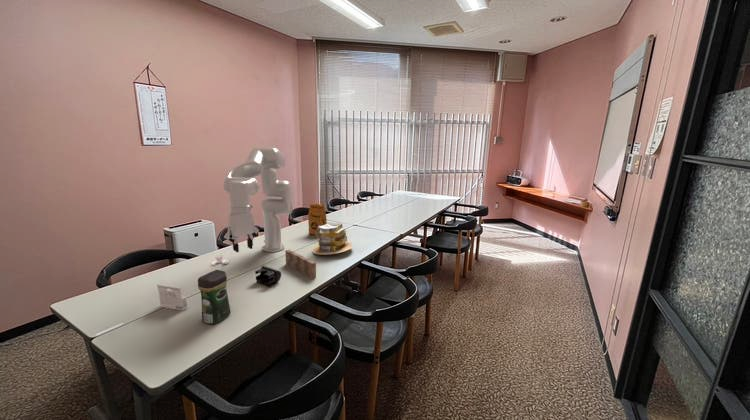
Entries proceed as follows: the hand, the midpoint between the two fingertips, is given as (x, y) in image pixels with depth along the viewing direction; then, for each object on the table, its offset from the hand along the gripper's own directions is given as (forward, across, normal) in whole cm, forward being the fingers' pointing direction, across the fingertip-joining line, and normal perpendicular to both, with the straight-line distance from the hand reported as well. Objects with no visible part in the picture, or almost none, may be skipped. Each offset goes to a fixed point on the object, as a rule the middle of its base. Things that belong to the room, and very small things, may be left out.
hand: (243, 249), depth 136 cm
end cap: (+20, -11, 0) cm, 23 cm away
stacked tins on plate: (+20, -60, -10) cm, 64 cm away
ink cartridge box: (+20, +27, -6) cm, 34 cm away
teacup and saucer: (+20, -2, -35) cm, 40 cm away
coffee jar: (+20, +18, +13) cm, 30 cm away
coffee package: (+20, -72, -41) cm, 85 cm away
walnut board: (+19, -29, 0) cm, 35 cm away
